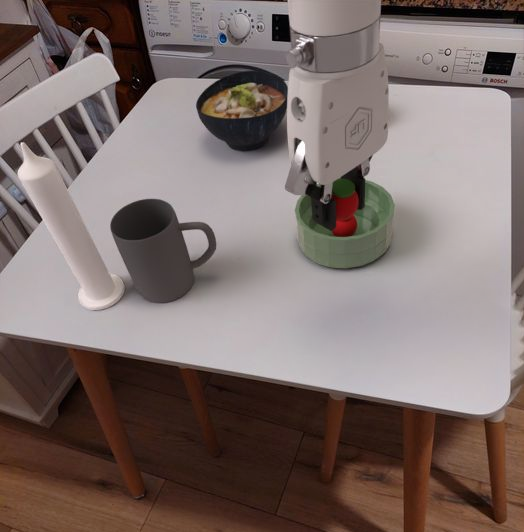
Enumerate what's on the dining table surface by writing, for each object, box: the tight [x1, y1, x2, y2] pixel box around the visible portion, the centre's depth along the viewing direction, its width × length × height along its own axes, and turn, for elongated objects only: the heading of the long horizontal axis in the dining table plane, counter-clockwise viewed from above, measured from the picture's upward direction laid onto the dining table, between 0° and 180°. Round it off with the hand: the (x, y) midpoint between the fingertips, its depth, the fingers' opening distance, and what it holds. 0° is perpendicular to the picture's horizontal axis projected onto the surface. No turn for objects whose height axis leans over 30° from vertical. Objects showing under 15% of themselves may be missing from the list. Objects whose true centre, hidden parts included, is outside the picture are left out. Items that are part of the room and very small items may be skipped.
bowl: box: [195, 70, 288, 152], centre depth 96 cm, size 17×17×10 cm
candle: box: [17, 142, 126, 311], centre depth 68 cm, size 7×7×25 cm
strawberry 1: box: [331, 179, 359, 221], centre depth 57 cm, size 4×4×4 cm
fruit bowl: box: [294, 178, 396, 269], centre depth 77 cm, size 14×14×6 cm
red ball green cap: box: [332, 215, 357, 237], centre depth 77 cm, size 4×4×4 cm
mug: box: [110, 198, 217, 304], centre depth 73 cm, size 14×9×12 cm
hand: (338, 213), depth 58 cm, fingers closed on strawberry 1, 3 cm apart
